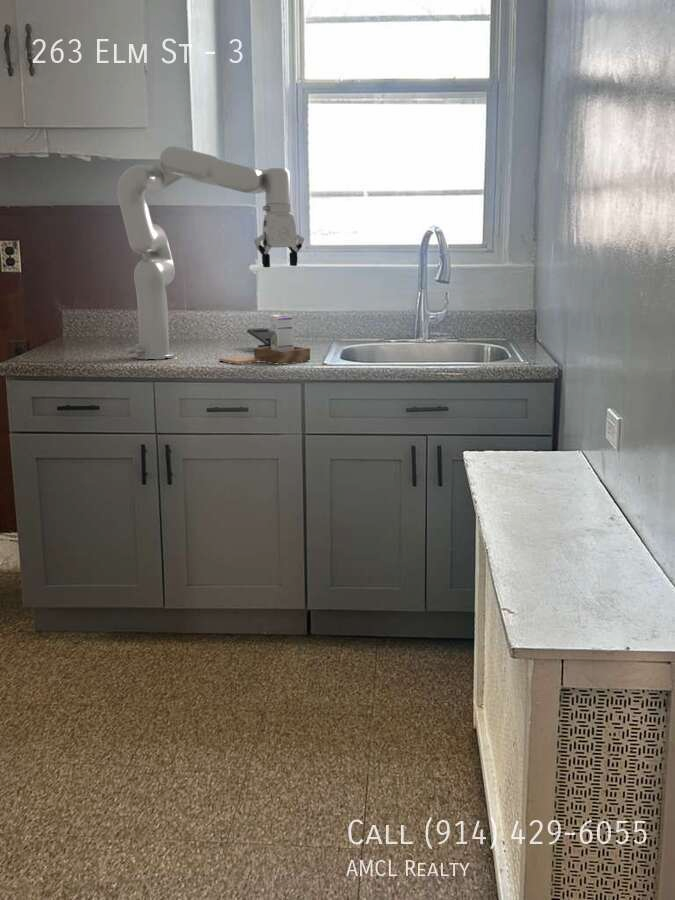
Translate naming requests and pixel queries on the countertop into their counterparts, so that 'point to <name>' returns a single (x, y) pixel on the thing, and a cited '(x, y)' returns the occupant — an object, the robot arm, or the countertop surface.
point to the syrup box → (281, 332)
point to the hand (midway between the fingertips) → (280, 266)
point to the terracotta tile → (240, 359)
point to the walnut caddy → (282, 355)
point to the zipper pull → (261, 336)
